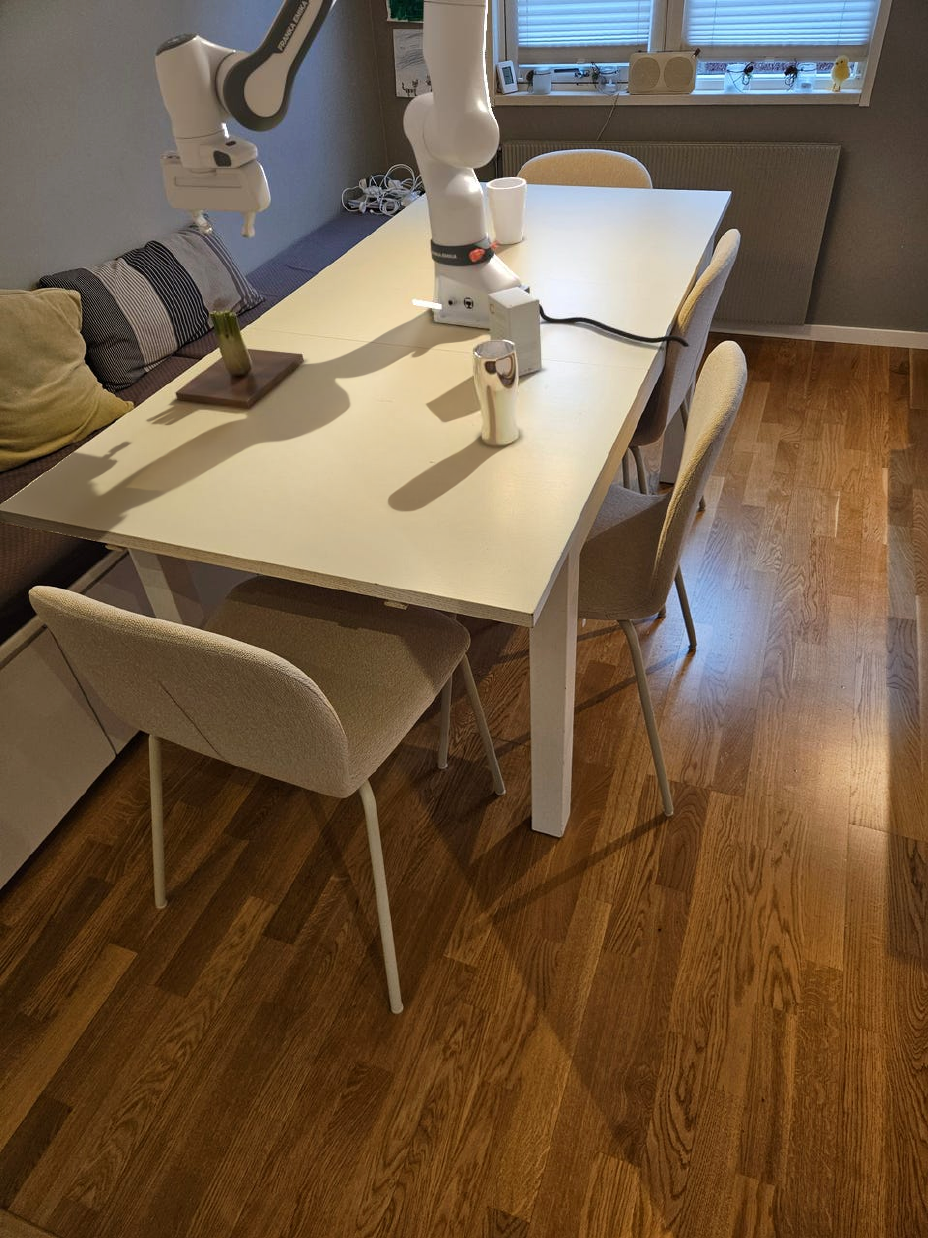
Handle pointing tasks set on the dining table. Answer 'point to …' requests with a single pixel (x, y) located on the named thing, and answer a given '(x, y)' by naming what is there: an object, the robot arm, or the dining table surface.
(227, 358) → the fennel bulb
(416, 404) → the dining table surface
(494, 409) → the beer glass
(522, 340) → the small box
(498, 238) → the foam cup
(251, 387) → the cutting board
